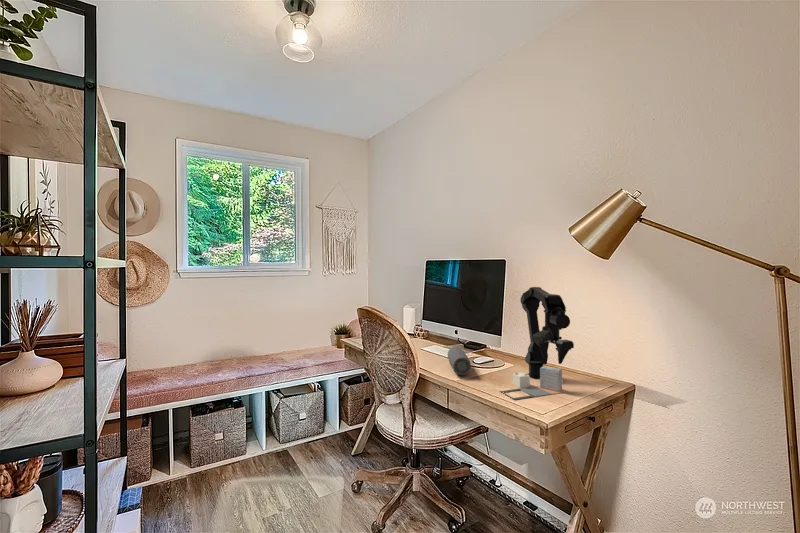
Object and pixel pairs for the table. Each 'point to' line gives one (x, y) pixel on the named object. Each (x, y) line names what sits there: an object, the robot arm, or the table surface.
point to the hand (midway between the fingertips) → (552, 361)
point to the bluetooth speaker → (459, 361)
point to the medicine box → (551, 378)
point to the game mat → (533, 392)
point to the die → (521, 380)
